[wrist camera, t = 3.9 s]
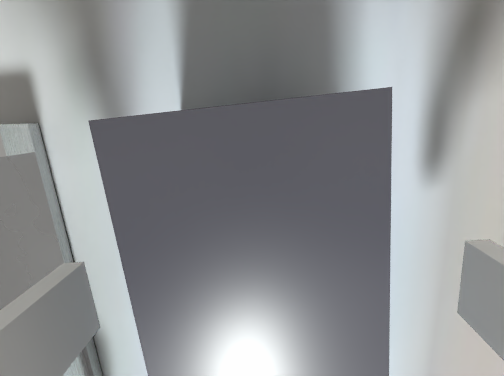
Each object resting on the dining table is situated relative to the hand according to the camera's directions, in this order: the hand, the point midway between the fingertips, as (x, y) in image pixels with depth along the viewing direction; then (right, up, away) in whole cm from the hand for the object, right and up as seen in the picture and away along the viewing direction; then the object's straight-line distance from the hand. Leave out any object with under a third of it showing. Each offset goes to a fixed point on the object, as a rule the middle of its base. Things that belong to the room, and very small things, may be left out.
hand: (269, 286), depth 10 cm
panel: (0, +1, +4) cm, 4 cm away
